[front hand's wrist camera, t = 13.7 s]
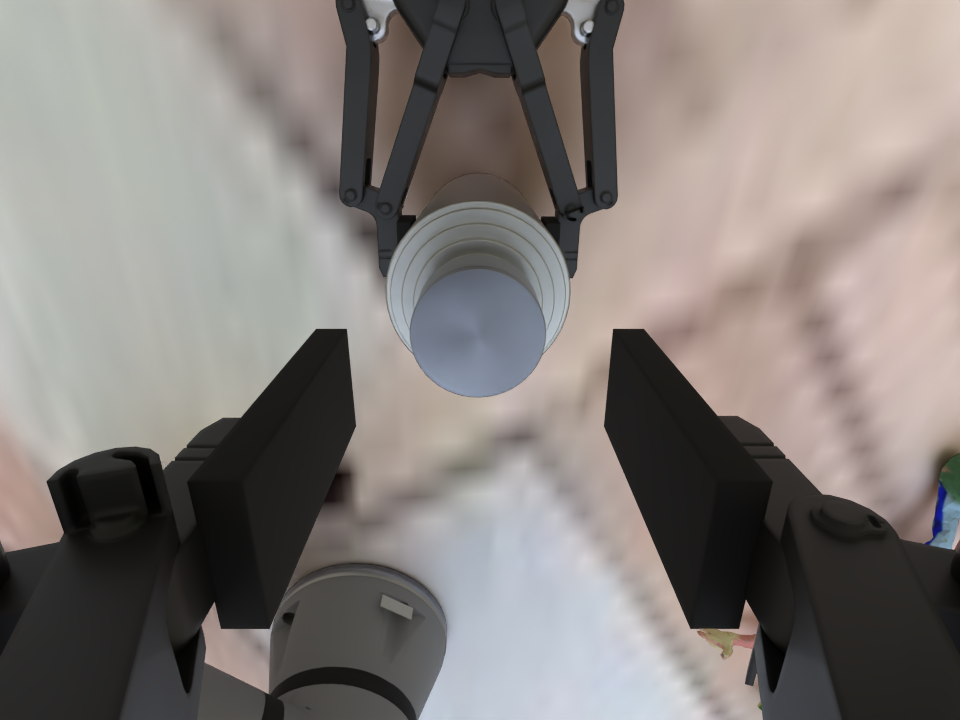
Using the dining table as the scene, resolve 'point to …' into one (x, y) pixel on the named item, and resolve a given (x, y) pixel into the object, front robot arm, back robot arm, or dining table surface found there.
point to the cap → (477, 327)
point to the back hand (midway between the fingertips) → (477, 329)
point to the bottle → (478, 247)
